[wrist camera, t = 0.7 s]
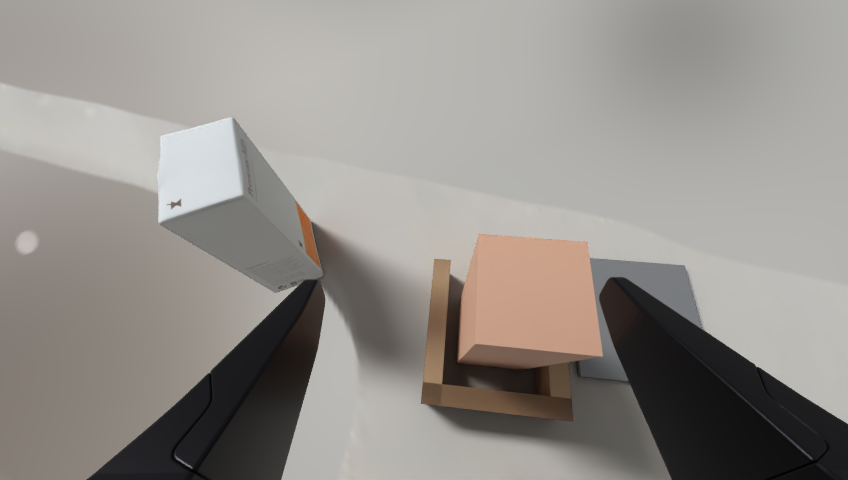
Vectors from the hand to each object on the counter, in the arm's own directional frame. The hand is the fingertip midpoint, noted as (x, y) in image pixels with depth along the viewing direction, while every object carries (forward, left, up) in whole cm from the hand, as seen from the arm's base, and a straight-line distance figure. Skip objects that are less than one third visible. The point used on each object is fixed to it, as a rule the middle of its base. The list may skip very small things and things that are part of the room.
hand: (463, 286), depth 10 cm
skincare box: (+9, +12, -15) cm, 21 cm away
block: (0, -3, -15) cm, 15 cm away
